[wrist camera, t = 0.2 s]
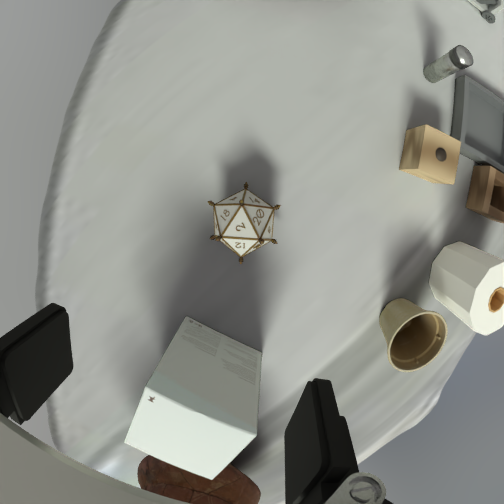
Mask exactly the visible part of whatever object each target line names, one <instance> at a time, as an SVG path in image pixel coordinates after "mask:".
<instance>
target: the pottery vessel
mask: <svg viewBox="0 0 504 504" xmlns="http://www.w3.org/2000/svg"><path fill="white" fill-rule="evenodd" d="M138 481H139V484H140V487H141V489H143V490H146V491H149V492H152V493H155V494H158V495H161V496H164V497H168V498H171V499H175V500H178V501H182V502H186V503H190V504H258V502H259V499H260V496H261V493H260V490H259V488H258V486H257V485H256V484H255V483H254V482H253V481H252V480H251V479H250V478H249V477H248V476H246V475H245V474H244V473H242V472H241V471H240V470H238V469H237V468H235V467H234V466H233V465H231V464H230V463H229V464H228V465H227V466H226V467H225V468H224V469H223V470H222V471H221V472H220V473H219V474H218V475H217V476H216V477H215V478H214V479H213V480H211V479H208V478H205V477H203V476H200V475H197V474H194V473H192V472H189V471H187V470H184V469H182V468H179V467H177V466H174V465H172V464H169V463H167V462H165V461H162V460H160V459H158V458H155V457H153V456H151V455H148V456H146V457H145V458H144V459H143V460H142V461H141V463H140V464H139V467H138Z"/></svg>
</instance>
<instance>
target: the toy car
mask: <svg viewBox="0 0 504 504" xmlns="http://www.w3.org/2000/svg"><path fill="white" fill-rule="evenodd" d="M468 1H469V2H470V3H471V4H473V5H474V6H475V7H476V8H478V9H479V10H480V11H481V12H482V17H483V18H484V19H486V20H487V21H488V22H489V23H494V22H495V16H494V15H495V14H497V13H499V12H500V11H502V10H504V0H468Z"/></svg>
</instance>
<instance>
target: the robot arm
mask: <svg viewBox="0 0 504 504" xmlns="http://www.w3.org/2000/svg"><path fill="white" fill-rule="evenodd" d="M72 370H73V359H72V350H71V341H70V329H69V316H68V313H67V312H66V309H65V308H64V307H62V306H60V305H57V304H55V303H51V304H49V305H48V306H46V307H45V308H43V309H42V310H40V311H39V312H37V313H36V314H34V315H33V316H31V317H30V318H28V319H27V320H25V321H24V322H22V323H21V324H19V325H18V326H16V327H15V328H14V329H12V330H11V331H9V332H8V333H6V334H5V335H4V336H2V337H1V338H0V504H190V503H186V502H182V501H178V500H175V499H171V498H168V497H164V496H161V495H158V494H155V493H152V492H149V491H146V490H143V489H140V488H137V487H135V486H132V485H129V484H127V483H124V482H122V481H119V480H117V479H114V478H112V477H110V476H107V475H105V474H103V473H100V472H98V471H96V470H94V469H92V468H90V467H88V466H86V465H84V464H82V463H80V462H78V461H76V460H74V459H72V458H70V457H68V456H66V455H64V454H63V453H61V452H59V451H57V450H55V449H54V448H52V447H50V446H49V445H47V444H45V443H43V442H42V441H40V440H38V439H37V438H36V437H34V436H32V435H31V434H29V433H28V432H26V431H25V430H23V429H22V428H21V427H19V426H18V425H16V424H15V423H13V422H12V421H11V420H9V419H8V417H9V416H10V417H11V419H13V420H14V421H15V422H17V423H18V424H20V425H21V424H22V423H23V422H24V421H27V420H29V419H30V418H31V417H32V416H33V414H34V413H35V412H36V411H37V410H38V409H39V408H40V407H41V405H42V404H43V403H44V402H45V401H46V400H47V399H48V398H49V397H50V395H51V394H52V393H53V392H54V391H55V390H56V389H57V388H58V387H59V386H60V384H61V383H62V382H63V381H64V380H65V379H66V378H67V377H68V376H69V375H70V374H71V372H72ZM284 440H285V497H286V504H393V503H391V502H390V501H388V500H386V499H385V496H386V488H385V486H384V483H383V482H382V481H381V480H380V479H379V478H378V477H376V476H374V475H372V474H370V473H364V472H360V473H359V470H358V465H357V461H356V457H355V453H354V449H353V445H352V441H351V437H350V433H349V429H348V425H347V422H346V419H345V417H344V416H340V415H339V411H338V407H337V403H336V399H335V396H334V392H333V388H332V384H331V381H330V380H324V379H318V378H315V379H314V380H313V381H312V382H311V381H308V382H307V384H306V387H305V389H304V391H303V393H302V396H301V398H300V400H299V402H298V405H297V407H296V409H295V411H294V413H293V415H292V417H291V419H290V422H289V424H288V426H287V428H286V431H285V436H284Z"/></svg>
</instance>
